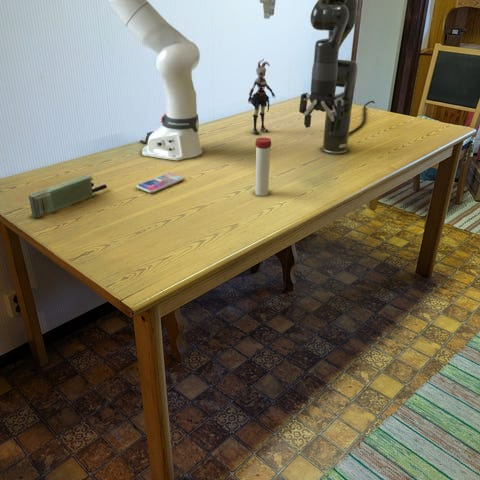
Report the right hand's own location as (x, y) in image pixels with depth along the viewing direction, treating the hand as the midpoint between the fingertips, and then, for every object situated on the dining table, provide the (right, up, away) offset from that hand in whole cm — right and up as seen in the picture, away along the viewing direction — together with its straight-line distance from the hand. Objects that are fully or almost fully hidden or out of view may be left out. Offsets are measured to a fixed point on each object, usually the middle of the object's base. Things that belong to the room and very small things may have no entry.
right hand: (319, 129), depth 160 cm
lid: (-18, -5, -9) cm, 21 cm away
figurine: (-17, +11, +54) cm, 58 cm away
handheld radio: (-75, -24, -9) cm, 79 cm away
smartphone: (-51, -17, +4) cm, 54 cm away
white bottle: (-18, -20, -1) cm, 27 cm away
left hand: (-16, +37, +3) cm, 40 cm away
